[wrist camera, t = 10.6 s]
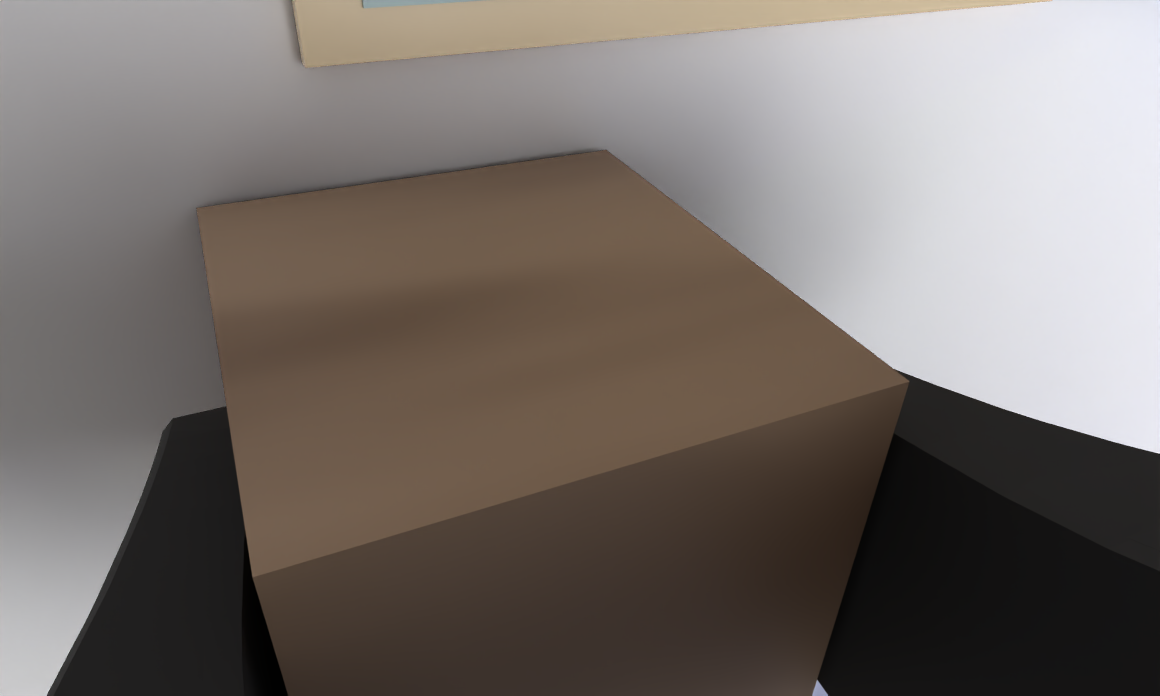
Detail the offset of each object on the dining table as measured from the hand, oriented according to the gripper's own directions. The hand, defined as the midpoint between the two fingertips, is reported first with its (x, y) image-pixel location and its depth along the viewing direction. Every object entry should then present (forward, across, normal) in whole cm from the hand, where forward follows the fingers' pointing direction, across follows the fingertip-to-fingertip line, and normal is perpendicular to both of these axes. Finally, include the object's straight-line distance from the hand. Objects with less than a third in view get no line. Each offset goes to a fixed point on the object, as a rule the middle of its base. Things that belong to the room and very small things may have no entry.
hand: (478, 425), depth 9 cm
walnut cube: (+2, 0, 0) cm, 2 cm away
